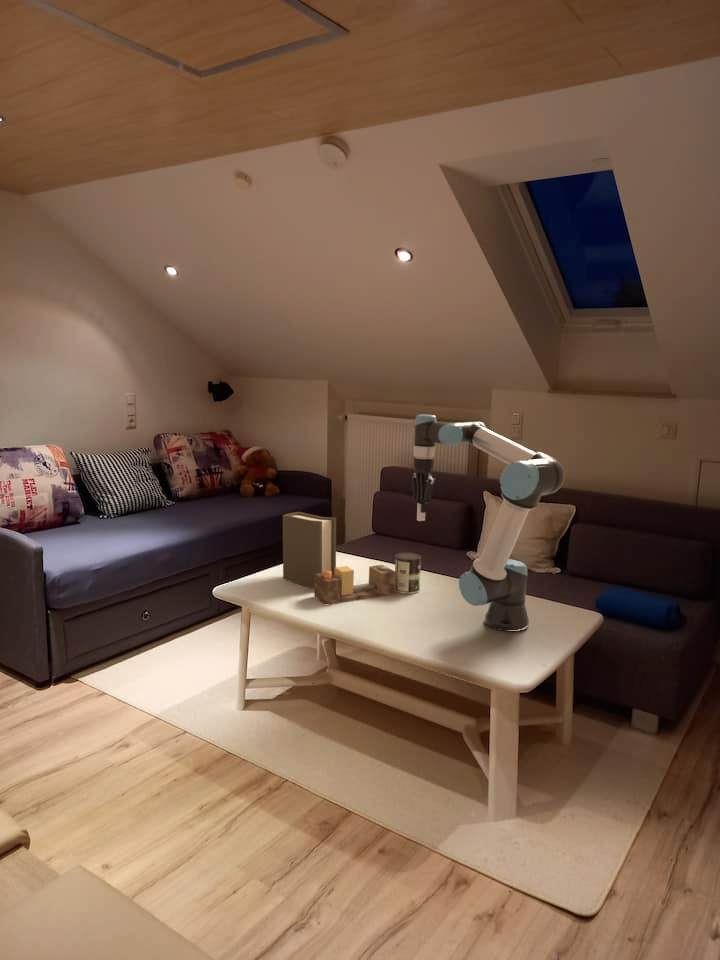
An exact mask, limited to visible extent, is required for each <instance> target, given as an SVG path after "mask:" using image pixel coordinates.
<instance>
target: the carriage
mask: <svg viewBox="0 0 720 960" xmlns="http://www.w3.org/2000/svg"><path fill="white" fill-rule="evenodd" d="M354 574H355V570H354V569H352V568H351V567H349V566H348V565H344V566H336V567H335V576H336V577H337V578H339V579H340V580H341V588H340V595H341V596H344V595H350V594H353V586H354V582H355V581H354V576H355V575H354Z"/></svg>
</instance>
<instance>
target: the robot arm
mask: <svg viewBox="0 0 720 960" xmlns="http://www.w3.org/2000/svg"><path fill="white" fill-rule="evenodd" d="M413 440H414V441H413V443H414V444H413V456H414V457H413V464H412V467H413V468H414V472H413V473H411V474H410V477H411V483H412V496H413V500H414V501H415V502H416V511H417V512H416V521H418V522H424V521H426V512H427V504H430V503H431V500H432V497H433V496H432V495H433V491H434V486H435V483H436V480H437V479H436V478H433V475H432V469H434V467H435V459H434V457H435V446H436V444H440V445H442V446H443V445H444V446H447V447H448V446H449V447H450V446H451V447H455V446H458V445H460V444H469V445H470V446H473V447H475V448H477V449H478V450H481V451H482V452H484V453H486V454H488V455H490V456H492V457H494V458H496V459H498V460H500V461H501V462H503V463H505V464H506V465H507V466H505V468H504V469H502V472H501V474H500V476H499V477H500V478H499V484H500V490H501V493H500V494H501V497H502V499H503V500H502V503H501V506H500V508H499V511H498V514H497V516H496V518H495V521H494V523H493V525H492V527H491V530H490V533H489V536H488V537H487V540H486V543H485V546H484V547H483V551H482V553H481V554H480V557H477V558H476V559H475V560H474V561H473V563H472V565H471V568H470V570H469V571H465V572H463V573H462V574H461V575H460V577H459V579H458V580H459V581H458V588H459V590H460V594H461V596H462V598H463V599H464V600H465V601H466V603H468V604H469V605H471V606H474V607H475V606H476V607H478V606H484V605H487V604H489V606H488V609H487V612H486V613H485V616H484V623H485V625H487V626H488V627H489V626H490V627H489V628H491V627H492V628H491V629H494V628H495V629H494V630H497V629H499V630H498V631H501V630H518V629H522V628H524V627H526V626H527V625H528V626H529V621H530V620H529V617H528V612H527V608H526V607H527V606H526V594H527V584H528V582H527V581H528V576H529V575H528V566H527V565H526V563H524V562H522V561H520V560H515V559H511V558H510V556H511V554H512V552H513V549H514V547H515V545H516V542H517V540H518V538H519V536H520V533H521V530H522V529H523V526H524V525H525V524H524V523H525V522H526V519H527V517H528V514H529V512H530V511H532V510H535V509H536V508H537V506H538V504H539V502H540V500H541V497H542V496H547V495H550V494H551V495H552V494H554V493H556V492H557V491H559V489H561V487H562V486H563V484H564V482H565V478H566V477H565V475H566V474H565V469H564V467H563V465H562V464H561V462H559V460H557V459H556V458H554V457H553V456H550V455H548V454H546V453H544V452H540V451H538V452H534V451H533V450H530V449H528V448H526V447H524V446H523V445H521V444H519V443H516V442H514V441H512V440H510V439H508V438H506V437H504V436H503V435H500V434H498V433H496V432H494V431H491V430H490V429H488V428H487V426H486V425H485V423H484V422H482V421H476V420H473V421H460V422H440V421H439V422H438V421H437V417H436V415H433V414H425V413H423V414H418V415H416V416H415V421H414V439H413ZM500 629H501V630H500Z"/></svg>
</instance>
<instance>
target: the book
mask: <svg viewBox="0 0 720 960" xmlns="http://www.w3.org/2000/svg"><path fill="white" fill-rule="evenodd" d="M282 563H283V564H282V578H283V579H282V580H284V579H286V580H285V581H288V580H289V581H288V582H291V581H293V582H292V583H295V582H296V583H295V584H300V585H303V586H306V587H310V588H311V589H313V590H314V584H315V574H319V573H324V571H326V570H329V571H332V574H333V575H334V576H335V567H337V517H326V516H319V515H314V514H311V513H306V512H301V511H295V512H289V513H285V514H283V515H282Z"/></svg>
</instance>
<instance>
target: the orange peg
mask: <svg viewBox="0 0 720 960" xmlns="http://www.w3.org/2000/svg"><path fill="white" fill-rule="evenodd" d="M329 578H332V571H329V570H326V571H324V579H329Z"/></svg>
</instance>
